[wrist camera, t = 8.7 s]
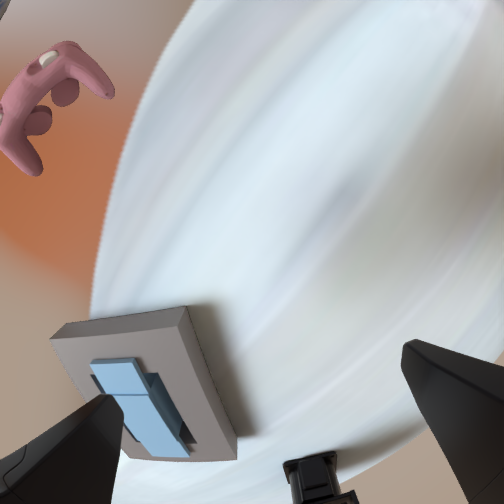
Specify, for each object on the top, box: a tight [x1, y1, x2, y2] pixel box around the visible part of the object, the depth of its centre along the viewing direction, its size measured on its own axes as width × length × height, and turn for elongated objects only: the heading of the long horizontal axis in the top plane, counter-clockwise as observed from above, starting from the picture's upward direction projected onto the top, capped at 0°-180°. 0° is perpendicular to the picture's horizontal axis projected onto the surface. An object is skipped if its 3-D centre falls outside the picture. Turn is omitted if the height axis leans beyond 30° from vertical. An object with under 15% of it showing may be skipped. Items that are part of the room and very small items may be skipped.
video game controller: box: [0, 41, 115, 176], centre depth 12 cm, size 10×5×7 cm, turn 125°
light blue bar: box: [89, 358, 191, 457], centre depth 19 cm, size 4×12×4 cm, turn 12°
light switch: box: [49, 306, 237, 462], centre depth 20 cm, size 16×12×3 cm
